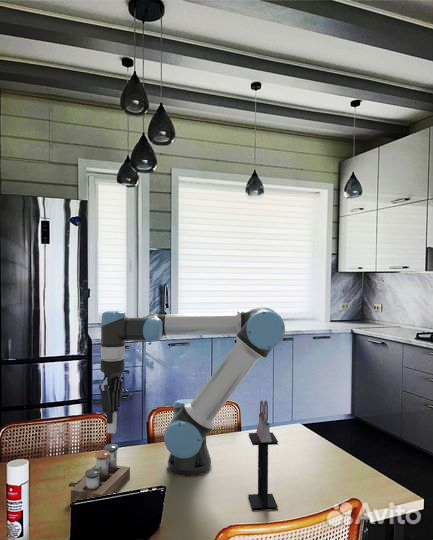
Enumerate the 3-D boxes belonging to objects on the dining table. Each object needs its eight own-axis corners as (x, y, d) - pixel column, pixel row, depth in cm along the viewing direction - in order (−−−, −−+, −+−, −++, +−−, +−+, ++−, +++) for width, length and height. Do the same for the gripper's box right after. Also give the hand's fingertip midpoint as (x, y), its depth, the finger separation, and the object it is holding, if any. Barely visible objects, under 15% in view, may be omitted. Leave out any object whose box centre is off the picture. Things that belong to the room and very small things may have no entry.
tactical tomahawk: (86, 492, 128) (86, 488, 128) (67, 487, 130) (68, 484, 130) (119, 462, 149) (119, 459, 149) (102, 458, 150) (102, 455, 150)
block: (129, 479, 134) (129, 467, 135) (101, 509, 117) (101, 494, 117) (102, 475, 137) (102, 463, 137) (70, 504, 119) (70, 490, 120)
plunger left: (102, 495, 123) (103, 469, 123) (95, 503, 119) (95, 475, 119) (89, 493, 124) (90, 467, 125) (81, 501, 120) (82, 474, 120)
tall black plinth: (247, 494, 126) (248, 395, 127) (271, 493, 126) (271, 395, 127) (253, 513, 115) (253, 406, 116) (279, 512, 116) (279, 405, 117)
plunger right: (120, 468, 134) (120, 444, 134) (113, 474, 130) (114, 449, 130) (108, 467, 135) (108, 443, 135) (101, 473, 131) (101, 448, 131)
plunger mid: (112, 476, 129) (112, 451, 129) (104, 483, 124) (105, 457, 125) (99, 474, 130) (99, 449, 130) (91, 481, 125) (92, 455, 126)
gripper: (111, 354, 141) (110, 424, 140) (91, 362, 128) (90, 438, 127) (132, 356, 139) (131, 426, 138) (113, 363, 126) (112, 441, 125)
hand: (111, 432), depth 133 cm, fingers closed
